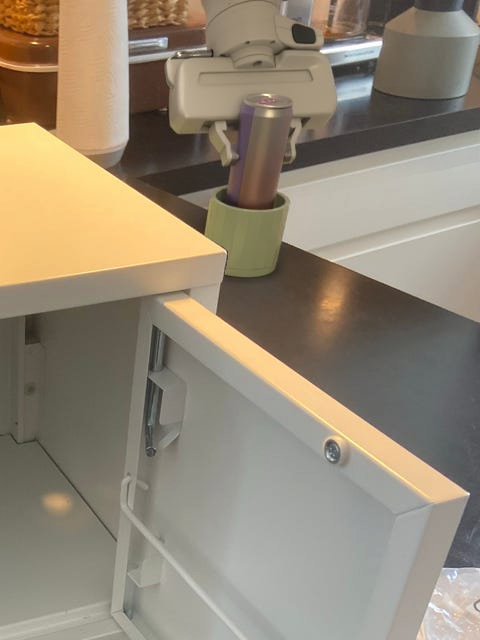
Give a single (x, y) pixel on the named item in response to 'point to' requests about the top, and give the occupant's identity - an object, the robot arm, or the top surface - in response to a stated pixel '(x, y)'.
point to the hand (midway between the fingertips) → (259, 162)
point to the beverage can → (259, 151)
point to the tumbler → (247, 234)
